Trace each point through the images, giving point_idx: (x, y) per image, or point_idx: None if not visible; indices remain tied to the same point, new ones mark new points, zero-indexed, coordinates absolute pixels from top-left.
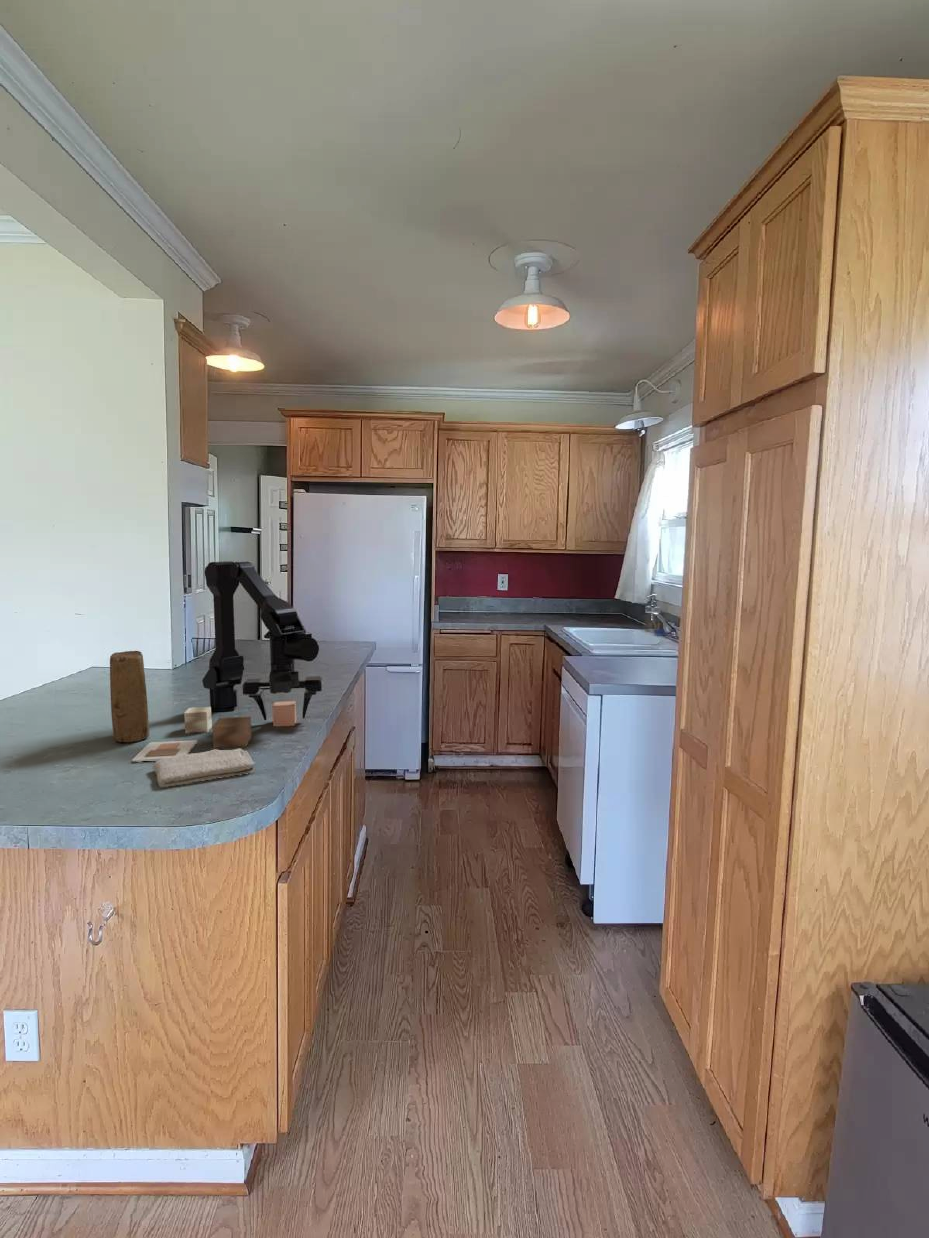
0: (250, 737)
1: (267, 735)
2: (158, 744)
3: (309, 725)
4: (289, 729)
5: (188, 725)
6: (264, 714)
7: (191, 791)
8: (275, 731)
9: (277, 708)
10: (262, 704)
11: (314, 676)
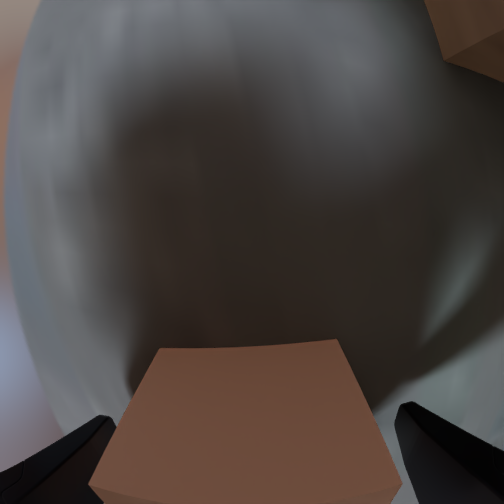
0: (436, 19)
1: (340, 58)
2: None
3: (57, 324)
4: (169, 229)
5: None
6: (434, 426)
7: None
8: (295, 172)
9: (326, 480)
10: (494, 480)
11: None
